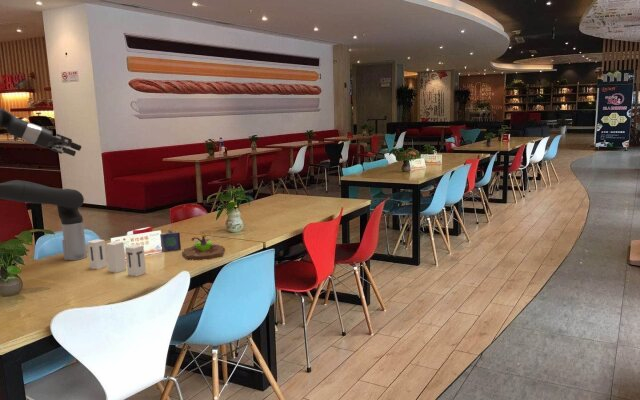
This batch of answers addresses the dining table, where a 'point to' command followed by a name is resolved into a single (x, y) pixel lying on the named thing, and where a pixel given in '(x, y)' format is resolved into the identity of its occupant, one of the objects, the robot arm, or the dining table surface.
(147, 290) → the dining table surface
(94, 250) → the block marked 1
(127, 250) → the block marked 7
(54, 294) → the dining table surface
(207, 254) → the plant
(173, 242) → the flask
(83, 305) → the dining table surface
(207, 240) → the tweezers
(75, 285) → the dining table surface
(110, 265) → the plain block
